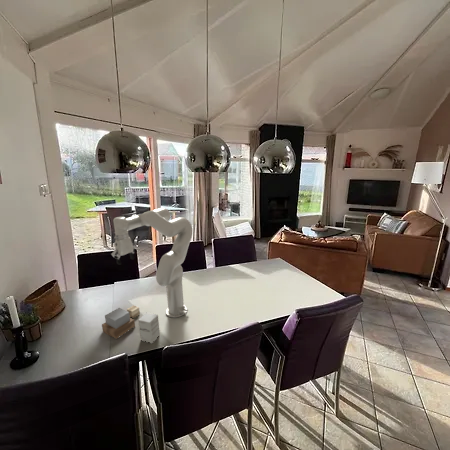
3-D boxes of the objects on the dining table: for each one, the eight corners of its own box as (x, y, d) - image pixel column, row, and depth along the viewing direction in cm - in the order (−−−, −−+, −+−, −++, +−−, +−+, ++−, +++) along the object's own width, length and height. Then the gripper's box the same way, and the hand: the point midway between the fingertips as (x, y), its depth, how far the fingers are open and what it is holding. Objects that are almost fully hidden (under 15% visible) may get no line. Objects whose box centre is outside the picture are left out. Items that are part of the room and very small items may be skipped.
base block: (135, 327, 145) (134, 319, 144) (116, 340, 136) (115, 331, 134) (121, 321, 152) (120, 313, 150) (103, 332, 142) (101, 324, 141)
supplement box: (140, 341, 134) (137, 319, 130) (149, 332, 140) (146, 311, 137) (152, 344, 131) (149, 322, 128) (160, 335, 138) (158, 314, 135)
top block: (130, 320, 144) (129, 312, 143) (116, 329, 137) (114, 320, 135) (120, 315, 149) (119, 307, 147) (105, 323, 141) (104, 315, 140)
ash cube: (139, 314, 157) (139, 307, 156) (133, 319, 153) (132, 311, 152) (134, 312, 160) (133, 305, 158) (127, 316, 156) (126, 309, 154)
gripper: (113, 240, 153) (117, 267, 157) (137, 233, 167) (140, 258, 171) (106, 239, 157) (110, 265, 161) (130, 232, 171) (133, 256, 175)
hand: (125, 261), depth 166 cm, fingers open, 9 cm apart
